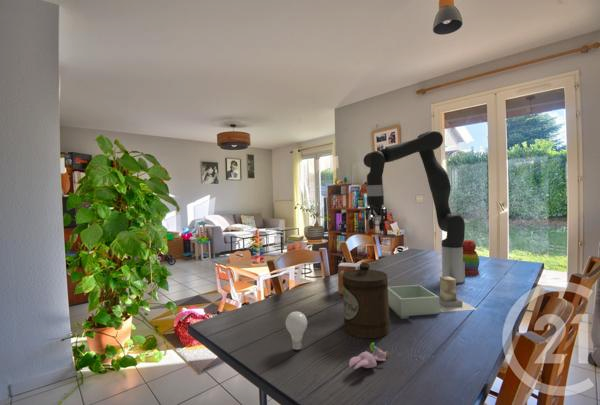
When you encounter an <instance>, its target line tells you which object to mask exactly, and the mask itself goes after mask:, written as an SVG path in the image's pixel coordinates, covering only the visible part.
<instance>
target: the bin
mask: <svg viewBox="0 0 600 405" xmlns="http://www.w3.org/2000/svg"><path fill="white" fill-rule="evenodd" d="M438 296H439V295H437V294H435V293H434V292H432V291H431V290H428V289H427V288H426V287H423V286H422V285H421V284H413V285H397V286H394V285H392V286H388V301H389V309H391V310H392V312H394V313H395V315H396V316H398V317H399V318H400V320H404V319H411V317H412V316H423V315H425V316H426V315H437V314H440V311H439V297H438Z"/></svg>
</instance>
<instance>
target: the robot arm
mask: <svg viewBox="0 0 600 405" xmlns="http://www.w3.org/2000/svg"><path fill="white" fill-rule="evenodd" d="M443 142H444V137H443V135H442V133H441V132H440V131H439V130H436V129H435V130H428V131H426V132H423V133H421V134H419V135H418V136H417V137H416V138H413V139H412V140H407V141H403V142H399V143H396V144H393V145H391V146H387V147H385V148H383V149H378V150H375V151H372V152H369V153H366V155H365V156H364V157H363V164H364V166H366V167H367V168H369V172H368V173H367V175H366V205H367V207H365V220H367V222H368V229H369V230H374V229H375V222H374V220H375V218H376V219H377V220H378V230H379V231H380V232H384V231H385V223H386V222H388V208H387V207H383V206H384V204H385V199H384V198H385V197H384V183H383V174H384V169H385V163H390V162H395V161H398V160H400V159H403V158H405V157H408V156H410V155H414V154H416V153H419V157H420V158H421V161H422V165H423V168H424V171H425V174H426V178H427V182H428V186H429V190H430V192H431V196H432V199H433V204H434V207H435V208H434V209H435V214H436V221H437V225H438V227H439V229H440V230H441V231H443V232H446V238H444V239H442V240H441V277H449V276H450V277H452V278H454V279H456V284H461V283H465V282H466V275H465V263H464V262H463V249H462V245H463V242H464V241H465V233H466V232H465V231H466V230H465V229H466V228H465V227H466V224H465V219H464V218H463V216H461V215H459V214H455V213H454V214H453V213H452V211H451V208H450V204H449V201H450V194H451V191H452V189H451V188H452V186H451V183H450V178H449V175H448V173H447V171H446V170H445V168H444V167H443V166H442V165H441V164H440V163H439V161H438V160H437V157H436V156H435V150H437V149H439V148H440V147H441V146H442V144H443Z"/></svg>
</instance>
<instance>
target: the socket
mask: <svg viewBox="0 0 600 405" xmlns="http://www.w3.org/2000/svg"><path fill="white" fill-rule="evenodd" d="M437 296H438V297H439V312H441V313H447V312H460V311H461V312H463V311H475V310H476V311H477V310H478V309H477V308H476V307H474V306H472V305H470V304H469V303H467V302H466V301H463V300H462V299H459V298H458V297H456V301H444V300H442V299H441V298H440V295H437Z"/></svg>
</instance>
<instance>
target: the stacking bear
mask: <svg viewBox="0 0 600 405" xmlns="http://www.w3.org/2000/svg"><path fill="white" fill-rule="evenodd" d="M476 244H477V243H476V242H475V241H473V240H471V239H467V240H465V239H464V242H463V245H462V249H463V262H464V263H465V276H468V275H469V276H477V275H479V274H480V271H479V267H480V257H479V253H478V252H477V251H476V248H477V245H476Z"/></svg>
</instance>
